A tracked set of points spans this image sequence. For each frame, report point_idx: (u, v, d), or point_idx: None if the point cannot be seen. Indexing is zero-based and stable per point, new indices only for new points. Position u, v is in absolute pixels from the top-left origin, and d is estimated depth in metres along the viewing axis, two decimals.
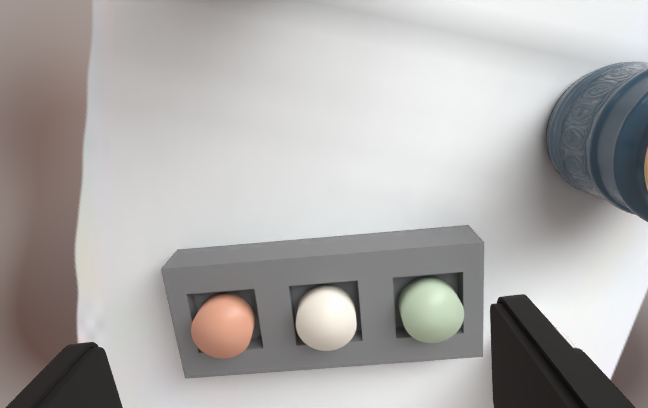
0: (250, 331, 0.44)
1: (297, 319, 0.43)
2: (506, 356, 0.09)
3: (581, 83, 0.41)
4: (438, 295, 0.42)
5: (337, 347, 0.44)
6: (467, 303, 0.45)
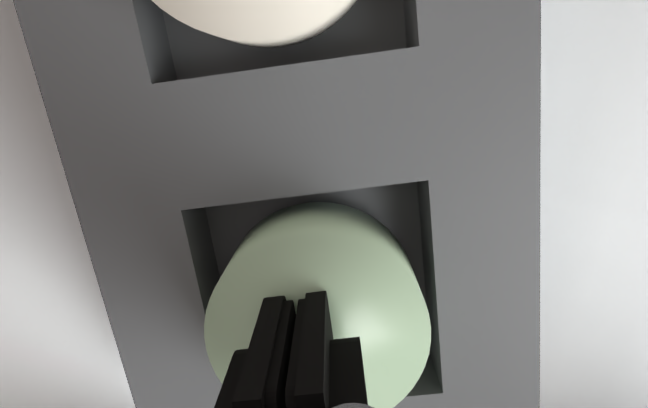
0: None
1: None
2: None
3: None
4: (403, 349, 0.12)
5: None
6: None
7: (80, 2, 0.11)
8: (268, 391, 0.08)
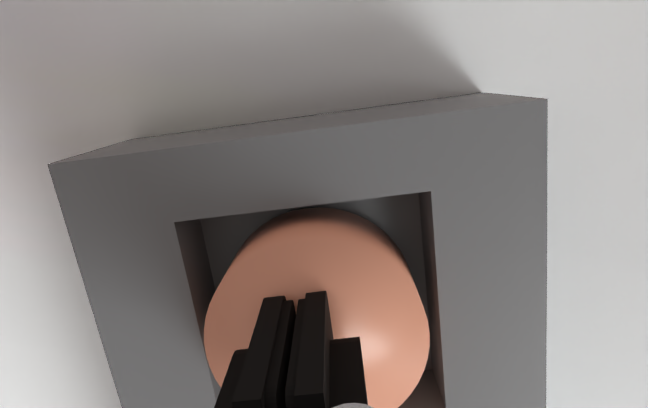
0: None
1: None
2: None
3: None
4: None
5: None
6: None
7: None
8: (267, 392, 0.08)
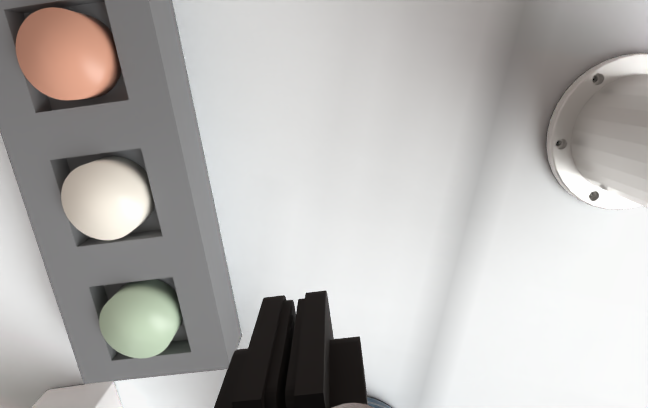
0: (70, 99, 0.31)
1: (102, 164, 0.32)
2: None
3: None
4: (164, 329, 0.36)
5: (70, 218, 0.33)
6: (151, 360, 0.38)
7: (52, 223, 0.34)
8: (268, 391, 0.08)
